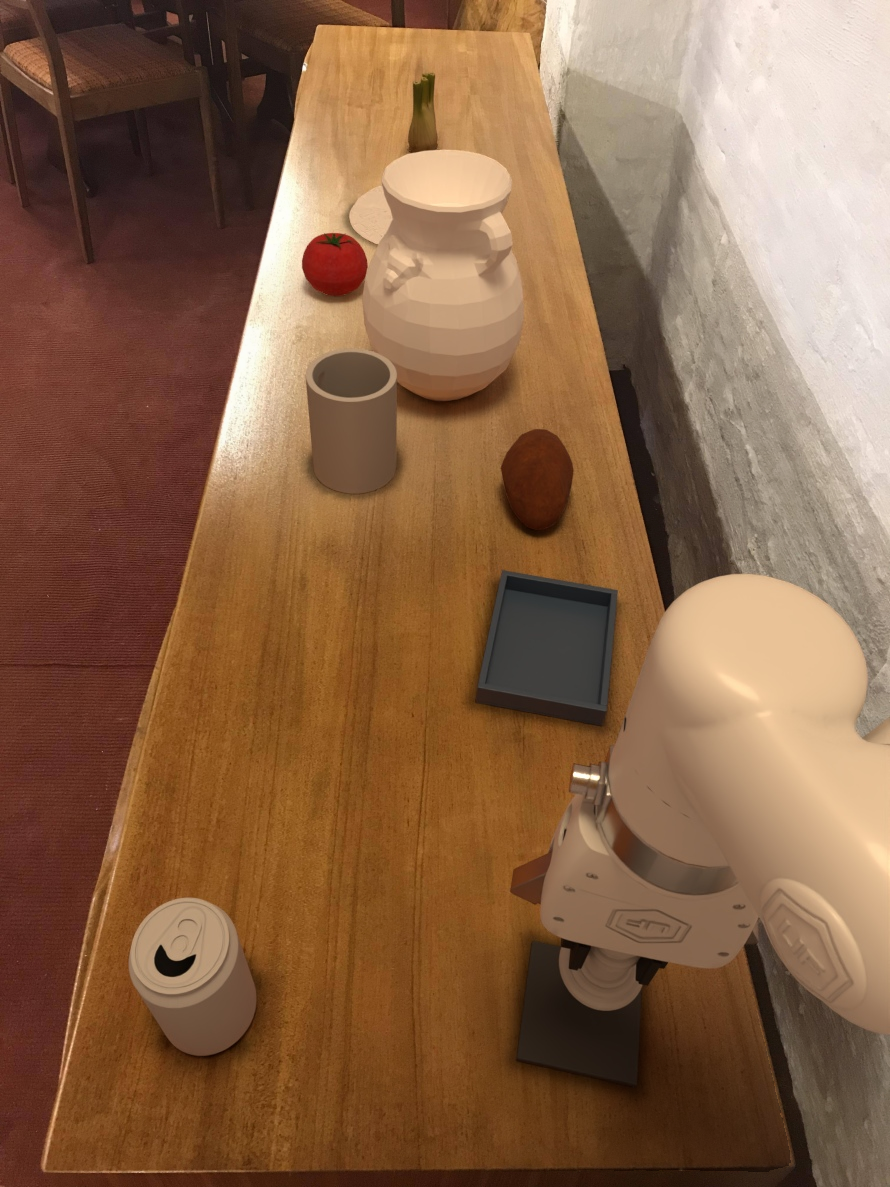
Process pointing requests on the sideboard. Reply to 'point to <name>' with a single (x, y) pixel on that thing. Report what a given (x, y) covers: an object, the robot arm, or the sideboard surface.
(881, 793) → the robot arm
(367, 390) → the cup
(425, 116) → the fennel bulb
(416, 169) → the white vase
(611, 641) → the tray
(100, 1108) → the sideboard surface
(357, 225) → the plaque
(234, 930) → the beverage can
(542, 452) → the potato
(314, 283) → the tomato
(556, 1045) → the mat
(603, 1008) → the chess piece
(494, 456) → the sideboard surface
